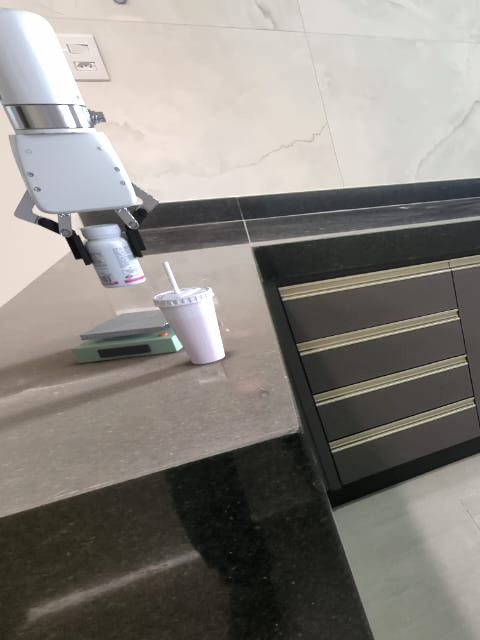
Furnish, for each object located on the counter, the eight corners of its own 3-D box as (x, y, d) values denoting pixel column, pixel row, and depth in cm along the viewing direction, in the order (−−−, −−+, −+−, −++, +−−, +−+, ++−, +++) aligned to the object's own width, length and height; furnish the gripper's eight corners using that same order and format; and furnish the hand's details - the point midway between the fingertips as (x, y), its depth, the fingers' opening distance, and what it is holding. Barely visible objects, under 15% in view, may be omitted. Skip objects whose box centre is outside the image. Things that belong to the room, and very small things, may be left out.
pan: (81, 340, 75) (79, 335, 74) (123, 318, 83) (121, 313, 83) (164, 331, 77) (162, 326, 77) (196, 310, 86) (194, 306, 85)
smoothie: (169, 365, 73) (124, 265, 67) (216, 348, 78) (179, 254, 72) (201, 370, 71) (158, 268, 65) (247, 352, 76) (211, 256, 71)
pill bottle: (146, 278, 81) (122, 221, 77) (146, 283, 77) (121, 225, 74) (104, 284, 78) (77, 226, 74) (102, 290, 74) (74, 230, 71)
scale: (76, 364, 74) (68, 348, 73) (127, 334, 85) (121, 320, 84) (176, 352, 77) (169, 336, 76) (213, 325, 88) (207, 311, 87)
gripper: (135, 121, 77) (184, 246, 84) (-44, 124, 66) (30, 268, 73) (140, 119, 72) (192, 252, 79) (-52, 122, 61) (28, 276, 68)
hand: (113, 258), depth 76 cm, fingers closed on pill bottle, 4 cm apart
